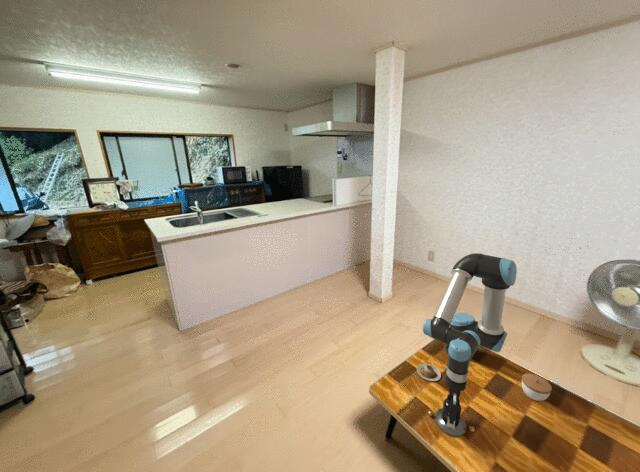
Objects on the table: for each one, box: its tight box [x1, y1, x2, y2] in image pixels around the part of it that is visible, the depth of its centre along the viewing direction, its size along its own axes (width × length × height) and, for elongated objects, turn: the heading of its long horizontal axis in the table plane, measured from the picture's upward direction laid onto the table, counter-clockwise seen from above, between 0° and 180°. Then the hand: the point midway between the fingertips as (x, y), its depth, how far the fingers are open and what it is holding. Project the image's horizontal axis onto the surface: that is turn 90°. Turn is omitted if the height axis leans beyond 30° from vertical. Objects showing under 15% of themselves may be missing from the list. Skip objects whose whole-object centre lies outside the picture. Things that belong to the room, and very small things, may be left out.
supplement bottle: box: [442, 394, 462, 427], centre depth 109 cm, size 7×7×12 cm
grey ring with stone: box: [416, 363, 442, 382], centre depth 137 cm, size 12×12×5 cm
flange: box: [427, 407, 475, 438], centre depth 111 cm, size 12×18×2 cm, turn 61°
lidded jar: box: [521, 372, 553, 402], centre depth 121 cm, size 11×11×9 cm
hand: (450, 419), depth 111 cm, fingers closed on supplement bottle, 7 cm apart
